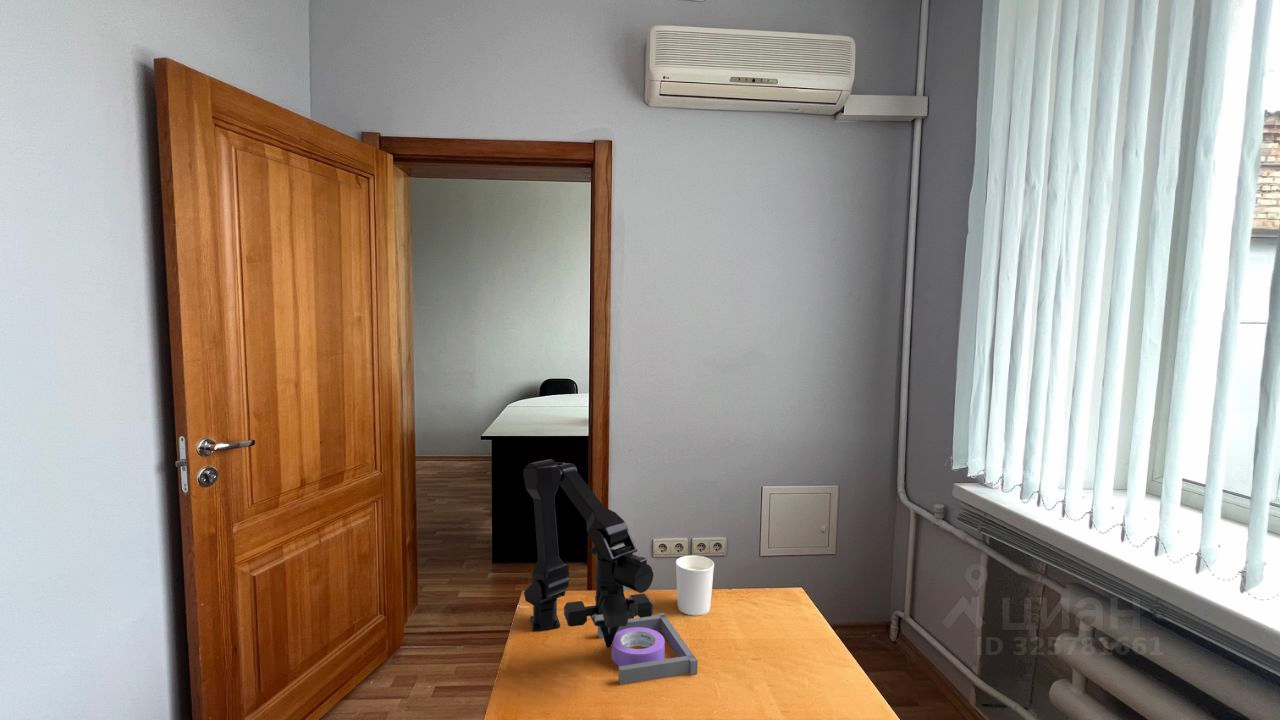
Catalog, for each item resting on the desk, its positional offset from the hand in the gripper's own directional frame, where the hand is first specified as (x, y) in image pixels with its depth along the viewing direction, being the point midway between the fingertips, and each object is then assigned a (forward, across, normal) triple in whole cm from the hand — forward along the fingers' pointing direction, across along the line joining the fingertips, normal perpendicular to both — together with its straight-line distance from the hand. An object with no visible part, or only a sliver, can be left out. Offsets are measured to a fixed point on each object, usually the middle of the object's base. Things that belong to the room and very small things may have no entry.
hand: (608, 647), depth 134 cm
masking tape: (+3, +7, 0) cm, 7 cm away
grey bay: (+2, +8, 0) cm, 9 cm away
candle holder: (+3, +27, +17) cm, 32 cm away
